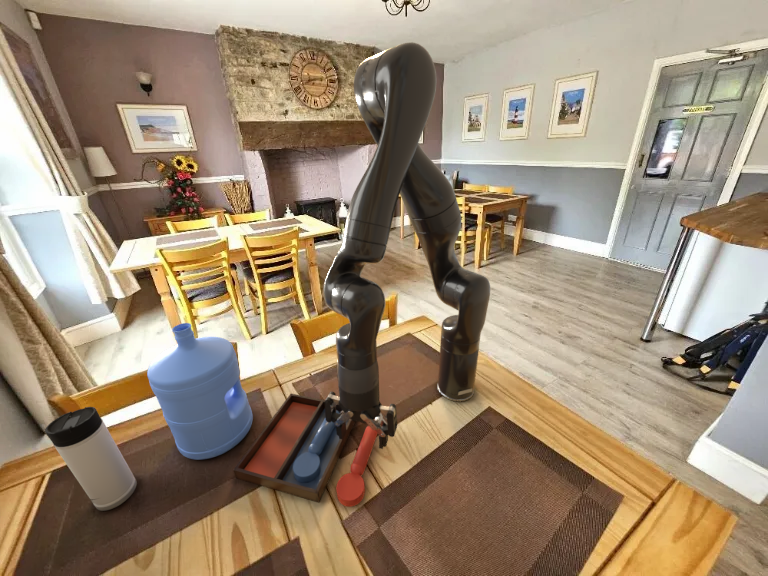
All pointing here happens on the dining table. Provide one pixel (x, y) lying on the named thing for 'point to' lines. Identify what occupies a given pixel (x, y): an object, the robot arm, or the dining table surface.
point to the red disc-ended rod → (356, 472)
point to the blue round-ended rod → (313, 455)
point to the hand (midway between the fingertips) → (362, 440)
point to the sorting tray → (292, 449)
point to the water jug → (201, 394)
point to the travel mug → (92, 457)
